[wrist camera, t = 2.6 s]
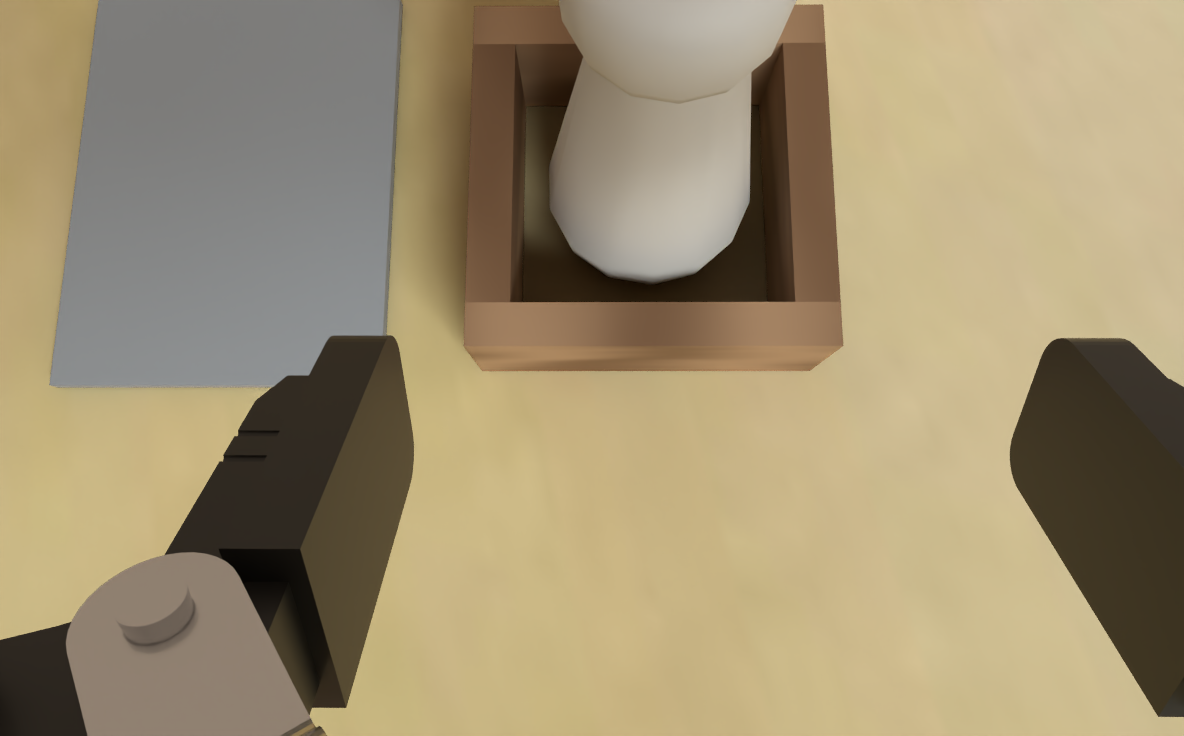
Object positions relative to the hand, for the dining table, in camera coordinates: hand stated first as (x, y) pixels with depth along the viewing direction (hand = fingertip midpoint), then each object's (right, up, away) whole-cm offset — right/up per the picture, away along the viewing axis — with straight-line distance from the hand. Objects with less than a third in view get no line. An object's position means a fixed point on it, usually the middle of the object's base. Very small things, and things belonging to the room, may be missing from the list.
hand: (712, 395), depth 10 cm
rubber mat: (-13, +6, +16) cm, 21 cm away
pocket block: (0, +5, +16) cm, 16 cm away
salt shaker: (0, +5, +16) cm, 17 cm away
